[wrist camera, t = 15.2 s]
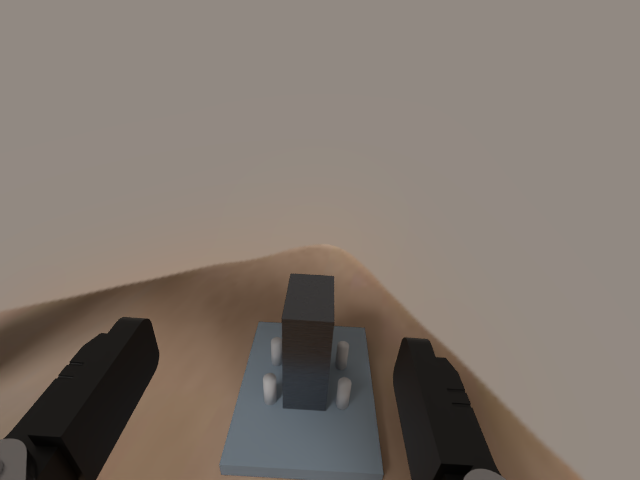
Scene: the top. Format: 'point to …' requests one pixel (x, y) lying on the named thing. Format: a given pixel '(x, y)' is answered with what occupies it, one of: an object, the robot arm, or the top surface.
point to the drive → (307, 341)
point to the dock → (305, 417)
